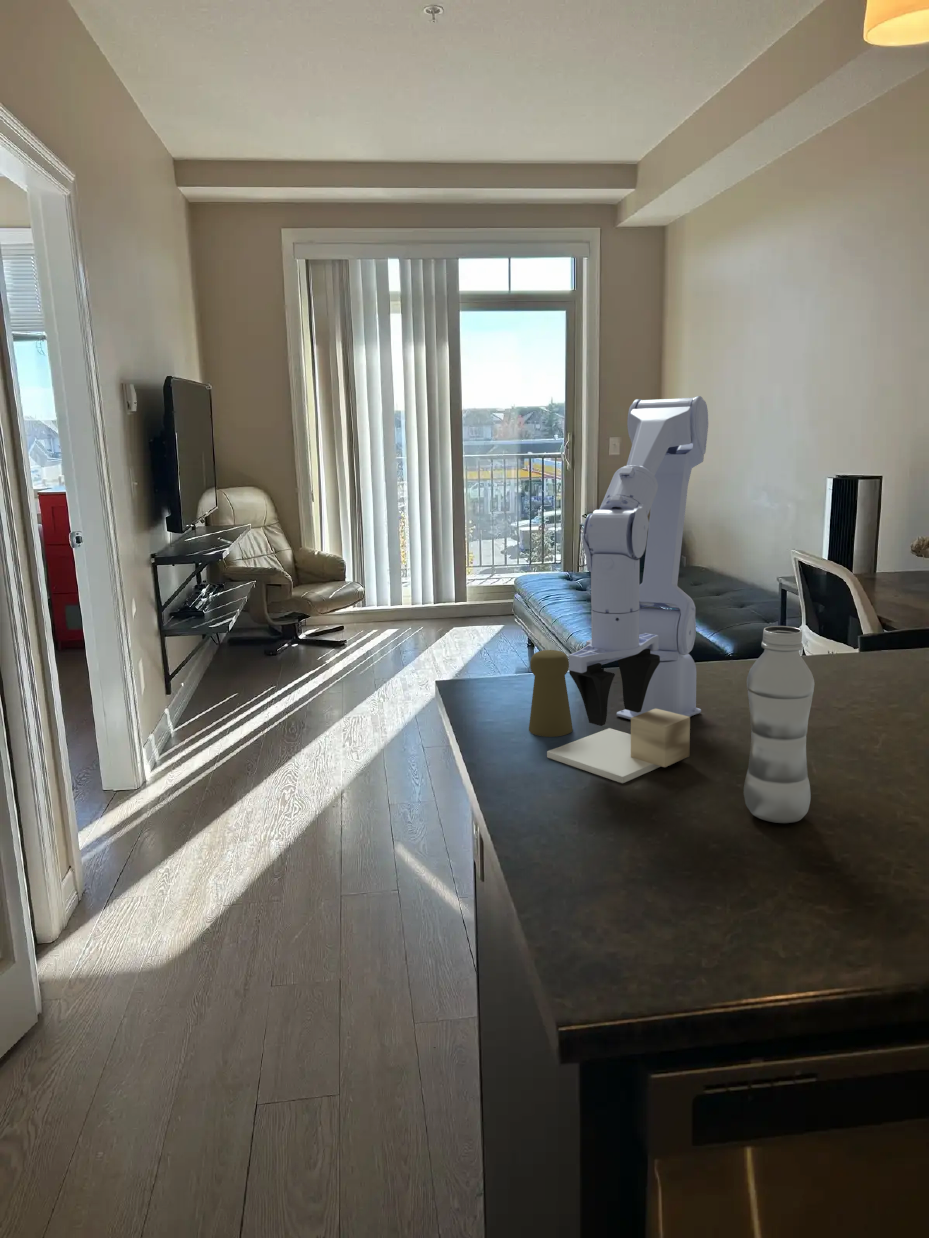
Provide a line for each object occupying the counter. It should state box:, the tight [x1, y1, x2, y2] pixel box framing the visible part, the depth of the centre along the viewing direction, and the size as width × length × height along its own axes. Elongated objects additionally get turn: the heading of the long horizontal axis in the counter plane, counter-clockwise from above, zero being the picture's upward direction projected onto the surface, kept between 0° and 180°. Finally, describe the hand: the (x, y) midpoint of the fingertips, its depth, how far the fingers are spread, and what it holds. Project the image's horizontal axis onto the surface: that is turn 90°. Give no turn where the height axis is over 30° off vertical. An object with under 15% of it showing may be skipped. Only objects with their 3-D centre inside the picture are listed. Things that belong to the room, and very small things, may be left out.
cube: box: [630, 708, 691, 768], centre depth 108 cm, size 5×5×5 cm
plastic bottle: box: [742, 625, 815, 824], centre depth 91 cm, size 6×7×20 cm
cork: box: [528, 649, 574, 738], centre depth 121 cm, size 6×6×11 cm
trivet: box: [546, 727, 662, 784], centre depth 111 cm, size 12×12×1 cm
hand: (615, 716), depth 110 cm, fingers open, 6 cm apart
